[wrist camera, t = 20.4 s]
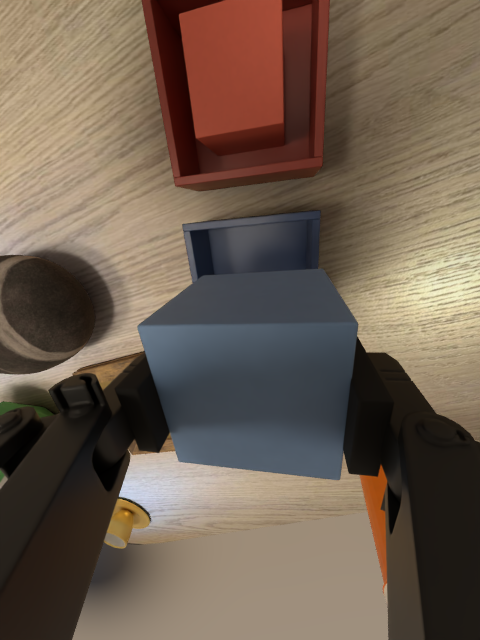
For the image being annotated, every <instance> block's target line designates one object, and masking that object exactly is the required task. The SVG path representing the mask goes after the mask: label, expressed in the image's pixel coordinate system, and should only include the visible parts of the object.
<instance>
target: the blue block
mask: <svg viewBox="0 0 480 640" xmlns="http://www.w3.org/2000/svg"><path fill="white" fill-rule="evenodd" d="M138 331H139V334H140V338H141V341H142V344H143V347H144V351H145V354H146V357H147V360H148V363H149V367H150V370H151V373H152V376H153V380H154V383H155V386H156V389H157V393H158V396H159V399H160V402H161V406H162V409H163V412H164V415H165V418H166V422H167V425H168V428H169V431H170V435H171V438H172V441H173V444H174V448H175V451H176V454H177V457H178V460H179V462H185V463H194V464H202V465H211V466H220V467H228V468H237V469H246V470H254V471H263V472H272V473H280V474H289V475H297V476H306V477H315V478H323V479H332V480H340V476H341V468H342V459H343V444H344V435H345V426H346V418H347V409H348V400H349V392H350V383H351V379H352V374H353V365H354V357H355V348H356V340H357V331H358V322H357V321H356V319H355V318H354V316H353V315H352V313H351V311H350V310H349V308H348V307H347V305H346V304H345V302H344V300H343V299H342V297H341V296H340V294H339V293H338V291H337V289H336V288H335V286H334V285H333V283H332V282H331V280H330V278H329V277H328V275H327V274H326V272H325V271H324V269H306V270H289V271H272V272H255V273H237V274H220V275H203V276H202V277H200V278H199V279H198V280H196V281H195V282H194V283H193V284H191V285H190V286H189V287H187V288H186V289H185V290H183V291H182V292H181V293H179V294H178V295H177V296H176V297H174V298H173V299H172V300H170V301H169V302H168V303H166V304H165V305H164V306H163V307H161V308H160V309H159V310H157V311H156V312H155V313H153V314H152V315H151V316H150V317H148V318H147V319H146V320H144V321H143V322H142V323H140V324H139V325H138Z"/></svg>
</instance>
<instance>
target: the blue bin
mask: <svg viewBox="0 0 480 640" xmlns="http://www.w3.org/2000/svg"><path fill="white" fill-rule="evenodd" d="M320 214H321V211H320V210H312V211H302V212H292V213H282V214H272V215H262V216H252V217H242V218H232V219H223V220H213V221H203V222H195V223H187V224H182V226H183V231H184V238H185V243H186V249H187V254H188V260H189V265H190V271H191V276H192V282H193V283H194V282H195V281H196V280H198V279H199V278H200V277H202V276H203V275H220V274H237V273H255V272H272V271H289V270H306V269H318V262H319V238H320Z"/></svg>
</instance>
